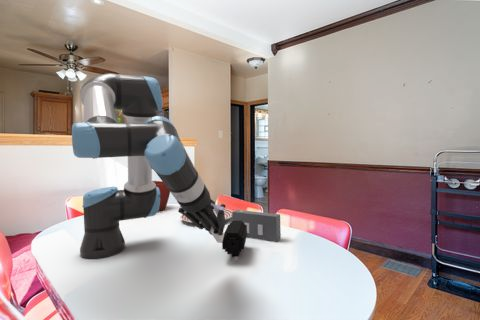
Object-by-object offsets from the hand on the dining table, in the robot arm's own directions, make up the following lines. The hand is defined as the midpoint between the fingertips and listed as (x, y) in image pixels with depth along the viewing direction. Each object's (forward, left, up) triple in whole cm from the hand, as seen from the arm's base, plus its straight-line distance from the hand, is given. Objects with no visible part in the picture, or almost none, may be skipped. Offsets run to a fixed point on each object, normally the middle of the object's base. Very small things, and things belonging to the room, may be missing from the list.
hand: (220, 238), depth 81 cm
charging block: (+34, +5, -11) cm, 36 cm away
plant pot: (+51, +85, -11) cm, 100 cm away
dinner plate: (+48, +40, -11) cm, 64 cm away
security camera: (+16, +4, -11) cm, 20 cm away
